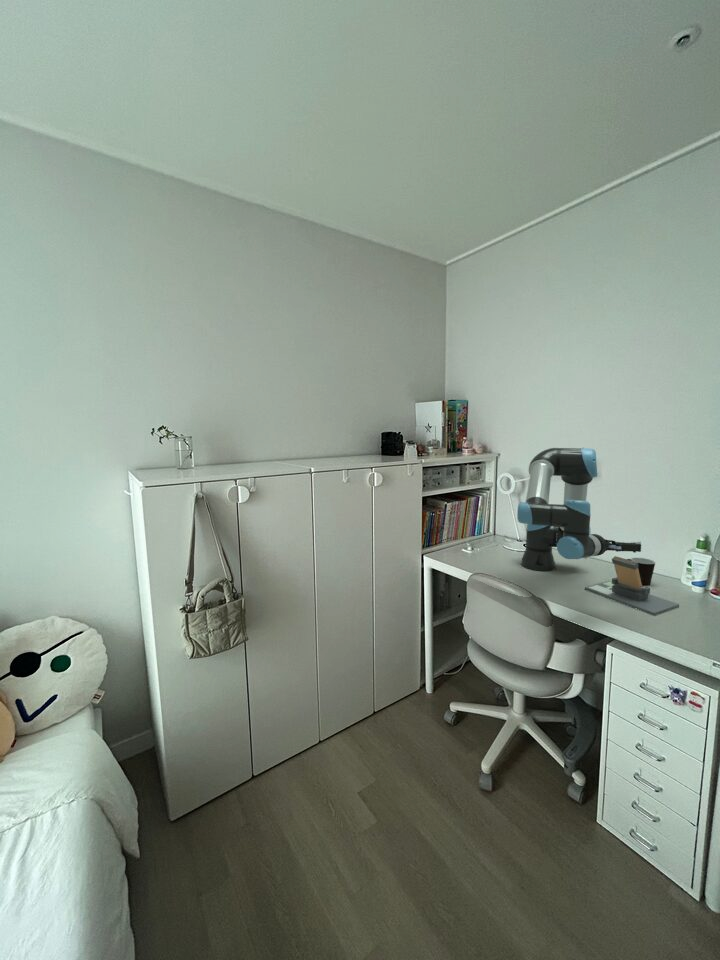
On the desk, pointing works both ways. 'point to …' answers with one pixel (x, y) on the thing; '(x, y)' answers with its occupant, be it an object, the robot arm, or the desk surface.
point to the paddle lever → (627, 573)
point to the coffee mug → (645, 569)
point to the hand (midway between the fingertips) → (618, 541)
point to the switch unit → (632, 597)
